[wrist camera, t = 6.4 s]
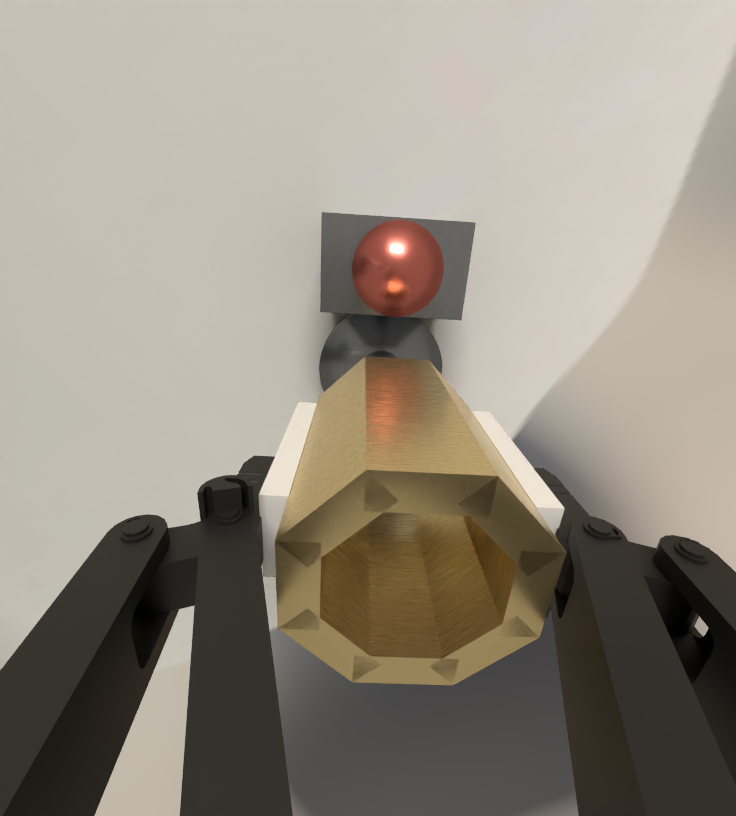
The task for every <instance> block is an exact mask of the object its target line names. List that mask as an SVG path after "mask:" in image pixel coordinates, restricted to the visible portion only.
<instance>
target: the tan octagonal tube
mask: <svg viewBox="0 0 736 816" xmlns="http://www.w3.org/2000/svg"><path fill="white" fill-rule="evenodd" d="M565 556H566V551H565V550H564V548H563V547H562V545H561V544H560V543H559V541H558V540H557V538H556V537H555V535H554V534H553V532H552V531H551V529H550V528H549V526H548V525H547V523H546V522H545V520H544V519H543V517H542V516H541V514H540V513H539V511H538V510H537V508H536V507H535V506H534V504H533V503H532V501H531V500H530V498H529V497H528V495H527V494H526V492H525V491H524V489H523V488H522V486H521V485H520V483H519V482H518V480H517V479H516V477H515V476H514V474H513V473H512V471H511V470H510V468H509V467H508V465H507V464H506V463H505V461H504V460H503V458H502V457H501V455H500V454H499V452H498V451H497V449H496V448H495V446H494V445H493V443H492V442H491V440H490V439H489V437H488V436H487V434H486V433H485V431H484V430H483V428H482V427H481V425H480V424H479V422H478V421H477V419H476V418H475V416H474V415H473V413H472V412H471V410H470V409H469V407H468V406H467V404H466V403H465V402H464V401H463V400H462V398H461V397H460V396H459V395H458V394H457V393H456V391H455V390H454V389H453V388H452V387H451V386H450V384H449V383H448V382H447V381H446V380H445V378H444V377H443V376H442V375H441V374H440V373H439V371H438V370H437V369H436V368H435V367H434V366H433V364H432V363H431V362H430V361H429V360H424V359H406V358H388V357H370V356H365V357H364V358H363V359H361V360H360V361H359V362H358V363H357V364H356V365H354V366H353V367H352V368H351V369H350V370H349V371H348V372H346V373H345V374H344V375H343V376H342V377H341V378H340V379H338V380H337V381H336V382H335V383H334V384H333V385H332V386H330V387H329V388H328V389H327V390H326V391H325V392H324V393H322V394H321V395H320V396H319V399H318V402H317V406H316V409H315V412H314V415H313V419H312V422H311V425H310V428H309V432H308V435H307V438H306V442H305V445H304V448H303V451H302V455H301V458H300V461H299V464H298V468H297V471H296V474H295V477H294V481H293V484H292V487H291V490H290V494H289V497H288V499H287V502H286V506H285V509H284V512H283V515H282V519H281V522H280V525H279V528H278V531H277V535H276V538H275V564H276V590H277V616H278V629H279V630H281V631H282V632H283V633H285V634H286V635H287V636H289V637H290V638H292V639H293V640H294V641H296V642H297V643H299V644H300V645H301V646H303V647H304V648H305V649H307V650H308V651H310V652H311V653H313V654H314V655H315V656H317V657H318V658H319V659H321V660H322V661H323V662H325V663H326V664H328V665H329V666H330V667H332V668H333V669H335V670H336V671H337V672H339V673H340V674H341V675H343V676H344V677H346V678H347V679H348V680H350V681H351V682H360V683H395V684H431V685H454V684H456V683H458V682H460V681H461V680H463V679H465V678H467V677H468V676H470V675H472V674H474V673H476V672H478V671H480V670H481V669H483V668H485V667H486V666H489V665H490V664H492V663H494V662H496V661H497V660H499V659H501V658H503V657H505V656H507V655H508V654H510V653H512V652H513V651H515V650H517V649H519V648H521V647H523V646H525V645H526V644H528V643H530V642H532V641H534V640H535V639H537V638H539V636H540V633H541V630H542V627H543V624H544V621H545V618H546V615H547V612H548V609H549V605H550V602H551V599H552V596H553V593H554V590H555V587H556V584H557V580H558V577H559V574H560V571H561V568H562V565H563V562H564V559H565Z"/></svg>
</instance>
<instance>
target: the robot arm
mask: <svg viewBox="0 0 736 816" xmlns="http://www.w3.org/2000/svg"><path fill="white" fill-rule="evenodd" d="M316 406H317V403H307V402H299V403H298V405H297V407H296V410H295V412H294V414H293V416H292V419H291V421H290V423H289V426H288V428H287V430H286V433H285V435H284V437H283V440H282V442H281V444H280V447H279V449H278V451H277V454H276V456H275V457H269V456H253V457H252V458H250V459H249V460H248V461H246V462H245V463H244V464H243V466H242V467H241V469H240V471H239V474H237V476H236V475H228V476H221V477H217V478H214V479H211V480H209V481H207V482H206V483H204V484H203V485H202V486H201V487H200V488H199V491H198V493H197V494H198V502H199V510H200V518H201V521H200V522H197V523H194V524H190V525H185V526H179V527H173V528H168V527H167V523H166V521H165V519H163V518H161V517H159V516H157V515H140V516H135V517H132V518H129V519H126V520H124V521H122V522H120V523H118V524H117V525H115V526H114V527H113V528H112V529H111V530H109V531H108V532H107V534H106V535H105V536H104V538H103V539H102V540H101V541H100V543H99V544H98V545H97V547H96V548H95V549H94V550H93V552H92V553H91V554H90V556H89V557H88V558H87V559H86V561H85V562H84V563H83V565H82V566H81V567H80V569H79V570H78V571H77V572H76V574H75V575H74V576H73V578H72V579H71V580H70V581H69V583H68V584H67V585H66V587H65V588H64V589H63V590H62V592H61V593H60V594H59V596H58V597H57V598H56V600H55V601H54V602H53V603H52V605H51V606H50V607H49V609H48V610H47V611H46V612H45V614H44V615H43V616H42V618H41V619H40V620H39V621H38V623H37V624H36V625H35V627H34V628H33V629H32V630H31V632H30V633H29V634H28V636H27V637H26V638H25V640H24V641H23V642H22V643H21V645H20V646H19V647H18V649H17V650H16V651H15V652H14V654H13V655H12V656H11V658H10V659H9V660H8V661H7V663H6V664H5V665H4V667H3V668H2V669H1V670H0V816H94V815H95V812H96V810H97V808H98V805H99V803H100V800H101V798H102V795H103V793H104V790H105V788H106V786H107V783H108V781H109V778H110V776H111V774H112V771H113V768H114V766H115V764H116V761H117V759H118V756H119V754H120V752H121V749H122V746H123V744H124V742H125V739H126V737H127V734H128V732H129V730H130V727H131V725H132V722H133V720H134V717H135V715H136V713H137V710H138V708H139V705H140V703H141V700H142V698H143V696H144V693H145V691H146V688H147V686H148V683H149V681H150V679H151V676H152V674H153V671H154V669H155V666H156V664H157V662H158V659H159V657H160V654H161V652H162V649H163V647H164V645H165V642H166V640H167V637H168V635H169V632H170V630H171V627H172V625H173V623H174V620H175V618H176V615H177V613H178V610H179V609H181V608H185V607H189V606H194V605H195V609H194V623H193V637H192V652H191V666H190V680H189V695H188V708H187V724H186V737H185V752H184V765H183V779H182V793H181V807H180V816H293V815H292V807H291V799H290V791H289V783H288V775H287V767H286V759H285V751H284V743H283V735H282V728H281V719H280V711H279V703H278V695H277V687H276V680H275V672H274V664H273V656H272V648H271V640H270V632H269V624H268V616H267V608H266V600H265V592H264V584H263V576H268V577H276V564H275V538H276V535H277V531H278V528H279V525H280V522H281V519H282V515H283V512H284V509H285V506H286V502H287V499H288V497H289V494H290V490H291V487H292V484H293V481H294V477H295V474H296V471H297V468H298V464H299V461H300V458H301V455H302V451H303V448H304V445H305V442H306V438H307V435H308V432H309V428H310V425H311V422H312V419H313V415H314V412H315V409H316ZM471 412H472V413H473V415H474V416H475V418H476V419H477V421H478V422H479V424H480V425H481V427H482V428H483V430H484V431H485V433H486V434H487V436H488V437H489V439H490V440H491V442H492V443H493V445H494V446H495V448H496V449H497V451H498V452H499V454H500V455H501V457H502V458H503V460H504V461H505V463H506V464H507V465H508V467H509V468H510V470H511V471H512V473H513V474H514V476H515V477H516V479H517V480H518V482H519V483H520V485H521V486H522V488H523V489H524V491H525V492H526V494H527V495H528V497H529V498H530V500H531V501H532V503H533V504H534V506H535V507H536V508H537V510H538V511H539V513H540V514H541V516H542V517H543V519H544V520H545V522H546V523H547V525H548V526H549V528H550V529H551V531H552V532H553V534H554V535H555V537H556V538H557V540H558V541H559V543H560V544H561V545H562V547H563V548H564V550H565V551H566V556H565V559H564V562H563V565H562V568H561V571H560V574H559V577H558V580H557V584H556V587H555V590H554V593H553V596H552V599H551V602H550V605H549V609H548V612H547V615H546V618H547V617H548V614H549V611H551V613H552V621H553V628H554V635H555V643H556V650H557V657H558V665H559V672H560V680H561V687H562V695H563V702H564V709H565V717H566V724H567V732H568V739H569V746H570V753H571V761H572V769H573V776H574V784H575V791H576V798H577V806H578V813H579V816H736V572H735V571H734V570H733V569H732V568H731V567H730V566H728V565H727V564H726V563H725V562H724V561H723V560H722V559H721V558H720V557H719V556H718V555H717V554H715V553H714V552H713V551H711V550H710V549H709V548H707V547H705V546H703V545H701V544H700V543H699V542H696V541H694V540H690V539H689V538H685V537H679V536H674V535H671V536H664V537H663V538H661V539H660V541H659V543H658V546H657V548H652V547H648V546H644V545H640V544H636V543H632V542H629V541H628V540H627V538H626V537H625V535H624V534H623V533H622V531H621V530H619V529H618V528H617V527H615V526H614V525H613V524H610V523H609V522H606V521H605V520H602V519H599V518H596V517H591V516H589V515H588V513H587V512H586V511H585V510H584V509H583V508H582V506H581V505H580V504H579V503H578V502H577V501H576V499H575V498H574V497H573V496H572V495H570V492H569V491H568V490H567V489H566V488H565V487H564V485H563V484H562V483H561V482H560V481H559V480H558V478H557V477H556V476H554V475H553V474H551V473H550V472H548V471H547V470H545V469H544V468H533V467H532V466H531V465H530V463H529V462H528V461H527V459H526V458H525V457H524V456H523V454H522V453H521V452H520V450H519V449H518V448H517V447H516V445H515V444H514V443H513V442H512V440H511V439H510V438H509V436H508V435H507V434H506V433H505V431H504V430H503V429H502V427H501V426H500V425H499V424H498V422H497V421H496V420H495V418H494V417H493V416H492V415H491V413H490V412H481V411H471ZM262 565H263V576H262V568H261V566H262ZM699 616H700V617H701V619H702V620H703V621H704V622H705V624H706V625H707V626H708V628H709V629H708V631H707V633H706V635H705V636H704V637H703V636H702V635H701V634H700V633H699V632H698V631H697V629H696V628H695V627H694V625H695V623H696V621H697V619H698V617H699Z"/></svg>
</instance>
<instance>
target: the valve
mask: <svg viewBox="0 0 736 816" xmlns="http://www.w3.org/2000/svg"><path fill="white" fill-rule="evenodd" d="M474 230H475V223H472V222H458V221H443V220H428V219H413V218H399V217H384V216H369V215H354V214H340V213H325V212H322V233H321V308H320V312H331V313H348V314H350V315H349V316H347V317H346V318H344V319H343V320H342V321H341V322H339V323H338V325H337V326H336V327H335V328H334V329H333V330H332V332H331V333H330V335H329V337H328V338H327V340H326V343H325V345H324V348H323V350H322V353H321V358H320V366H319V371H320V380H321V384H322V387H323V390H324V392H325V391H326V390H327V389H328V388H329V387H330V386H332V385H333V384H334V383H335V382H336V381H337V380H338V379H340V378H341V377H342V376H343V375H344V374H345V373H346V372H348V371H349V370H350V369H351V368H352V367H353V366H354V365H356V364H357V363H358V362H359V361H360V360H361V359H363V358H364V357H365V356H370V357H388V358H406V359H424V360H429V361H430V362H431V363H432V364H433V366H434V367H435V368H436V369H437V370H438V371H439V373H440V374H441V375H442V359H441V354H440V350H439V348H438V345H437V343H436V341H435V339H434V337H433V336H432V334H431V333H430V331H429V330H428V329H427V328H426V327H425V325H424V324H423V323H422V322H421V321H419V320H418V319H417V318H432V319H449V320H461V318H462V311H463V304H464V297H465V291H466V284H467V277H468V271H469V264H470V257H471V250H472V244H473V237H474Z"/></svg>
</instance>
